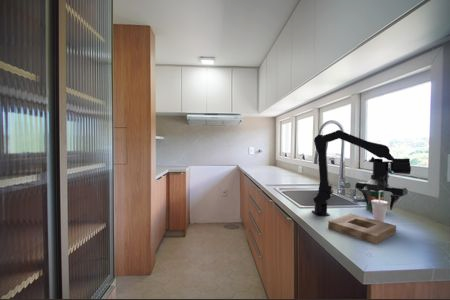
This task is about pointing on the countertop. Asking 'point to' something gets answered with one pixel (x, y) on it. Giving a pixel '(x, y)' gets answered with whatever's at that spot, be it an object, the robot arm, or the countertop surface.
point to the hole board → (362, 228)
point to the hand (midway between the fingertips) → (379, 207)
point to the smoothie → (379, 209)
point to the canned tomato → (374, 198)
